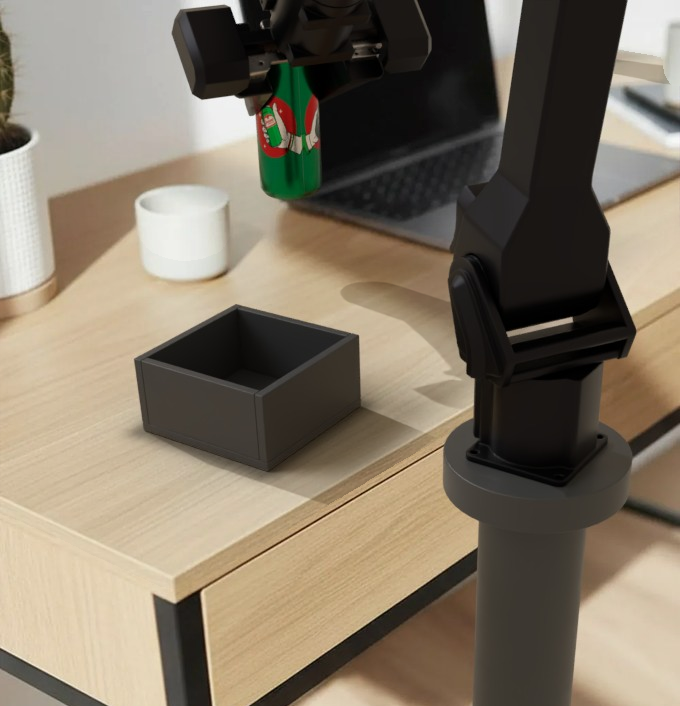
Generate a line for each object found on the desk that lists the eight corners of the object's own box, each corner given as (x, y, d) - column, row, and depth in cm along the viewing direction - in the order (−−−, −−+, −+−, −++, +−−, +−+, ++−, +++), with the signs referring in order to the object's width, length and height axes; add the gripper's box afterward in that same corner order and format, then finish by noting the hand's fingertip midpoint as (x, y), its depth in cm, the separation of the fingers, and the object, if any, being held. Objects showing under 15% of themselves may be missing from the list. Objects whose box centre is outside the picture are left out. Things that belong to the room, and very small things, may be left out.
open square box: (361, 405, 80) (359, 334, 77) (267, 472, 73) (262, 396, 70) (241, 371, 85) (235, 303, 82) (143, 430, 78) (133, 358, 75)
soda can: (306, 179, 101) (299, 28, 95) (332, 195, 97) (327, 38, 91) (251, 189, 99) (240, 36, 93) (275, 205, 95) (265, 46, 89)
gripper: (413, -136, 86) (353, 8, 101) (163, -118, 80) (138, 33, 94) (466, -4, 84) (397, 123, 98) (213, 26, 78) (179, 157, 92)
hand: (280, 106), depth 96 cm, fingers closed on soda can, 5 cm apart
